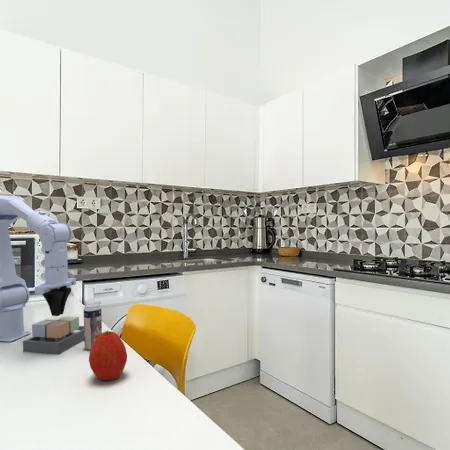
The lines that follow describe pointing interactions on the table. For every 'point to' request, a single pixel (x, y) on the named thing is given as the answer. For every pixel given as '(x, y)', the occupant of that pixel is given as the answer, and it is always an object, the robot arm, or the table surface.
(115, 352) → the apple
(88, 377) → the table surface
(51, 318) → the off-white square block
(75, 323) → the key sage
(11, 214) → the robot arm
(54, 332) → the key terracotta
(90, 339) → the beer can
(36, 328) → the pale blue block
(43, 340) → the grey tray
